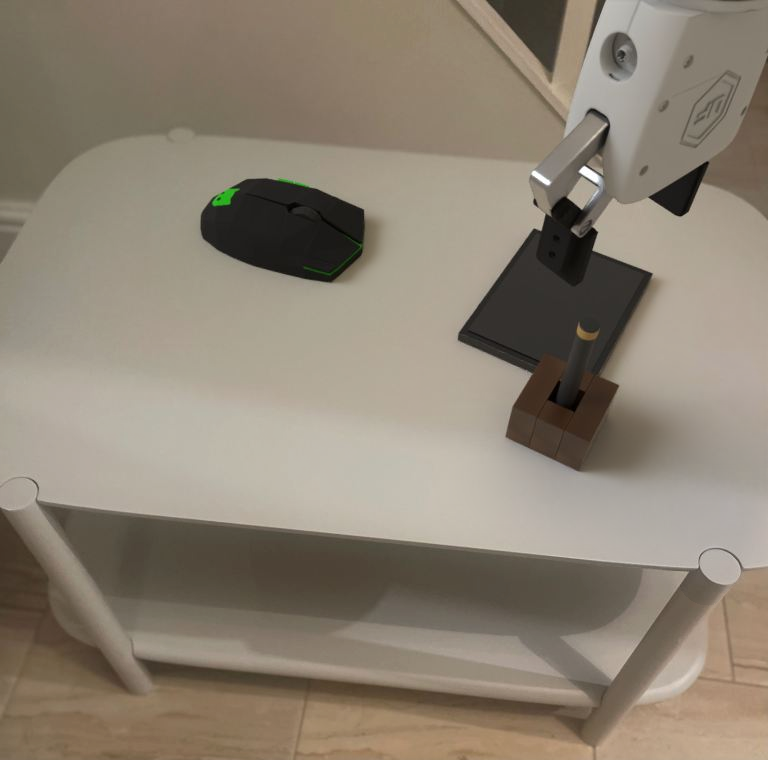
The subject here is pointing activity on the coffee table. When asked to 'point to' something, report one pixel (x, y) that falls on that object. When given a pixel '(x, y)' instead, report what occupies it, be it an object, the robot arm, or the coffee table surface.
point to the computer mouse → (285, 228)
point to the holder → (560, 414)
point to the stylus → (577, 361)
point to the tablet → (553, 309)
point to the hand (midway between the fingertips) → (613, 236)
